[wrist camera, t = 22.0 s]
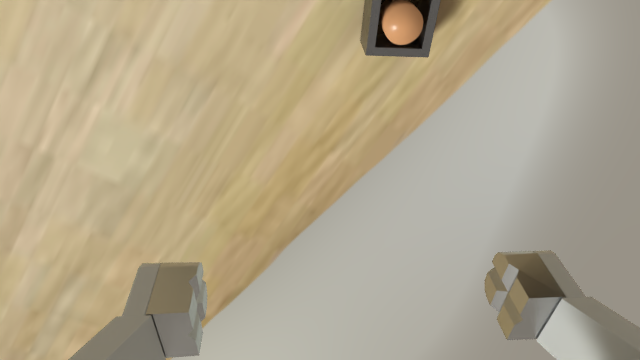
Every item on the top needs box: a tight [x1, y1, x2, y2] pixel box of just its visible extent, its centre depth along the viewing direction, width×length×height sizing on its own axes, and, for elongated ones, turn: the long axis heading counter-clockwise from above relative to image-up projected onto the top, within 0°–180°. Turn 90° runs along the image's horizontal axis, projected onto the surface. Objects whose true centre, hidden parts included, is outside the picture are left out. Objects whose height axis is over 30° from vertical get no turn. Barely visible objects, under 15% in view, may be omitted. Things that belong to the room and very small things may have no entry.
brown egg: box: [379, 0, 423, 45], centre depth 41 cm, size 4×4×4 cm
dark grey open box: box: [360, 0, 440, 57], centre depth 41 cm, size 6×6×4 cm
